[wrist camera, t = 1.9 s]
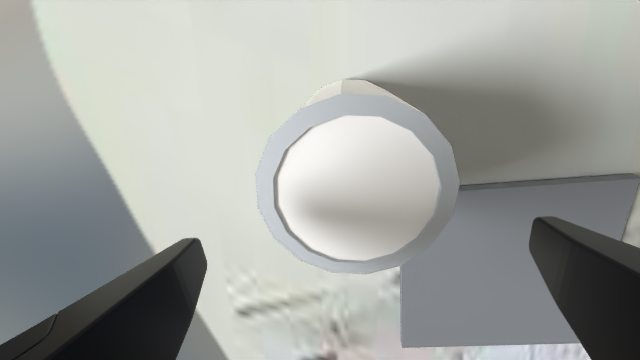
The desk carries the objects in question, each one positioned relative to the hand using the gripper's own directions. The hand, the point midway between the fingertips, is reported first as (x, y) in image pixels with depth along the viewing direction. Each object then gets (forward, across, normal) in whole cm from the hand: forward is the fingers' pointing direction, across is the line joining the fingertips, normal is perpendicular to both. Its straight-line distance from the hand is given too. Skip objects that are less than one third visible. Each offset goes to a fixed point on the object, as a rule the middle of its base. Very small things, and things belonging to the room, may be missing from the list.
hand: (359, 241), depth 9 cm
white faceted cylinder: (+10, 0, 0) cm, 10 cm away
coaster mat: (+9, -8, +9) cm, 16 cm away
